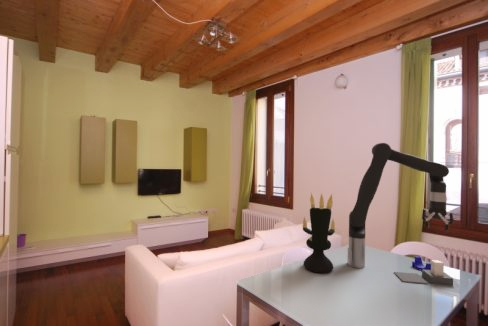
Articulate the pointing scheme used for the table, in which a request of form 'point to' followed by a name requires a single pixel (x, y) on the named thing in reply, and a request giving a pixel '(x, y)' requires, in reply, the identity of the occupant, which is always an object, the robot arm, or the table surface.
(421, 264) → the cable clip
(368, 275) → the table surface
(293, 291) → the table surface
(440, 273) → the plug
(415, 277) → the mat
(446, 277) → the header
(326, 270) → the candelabra
